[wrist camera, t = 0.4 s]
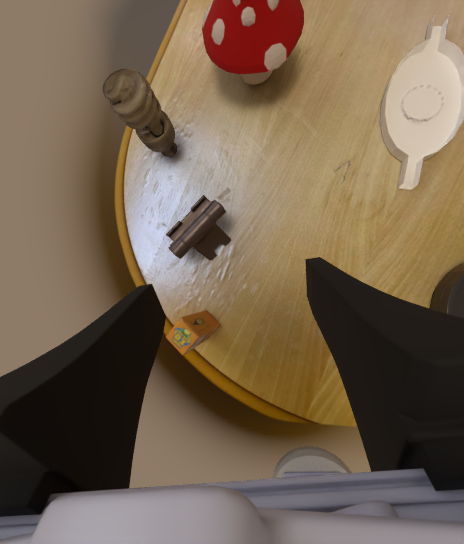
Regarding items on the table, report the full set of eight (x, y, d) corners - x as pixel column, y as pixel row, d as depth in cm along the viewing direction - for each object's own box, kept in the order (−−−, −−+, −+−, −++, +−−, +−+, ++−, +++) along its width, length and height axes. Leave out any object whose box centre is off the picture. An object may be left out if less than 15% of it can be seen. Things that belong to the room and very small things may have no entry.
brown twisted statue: (194, 145, 42) (148, 64, 27) (178, 174, 42) (124, 108, 27) (167, 133, 43) (110, 49, 28) (152, 161, 43) (87, 92, 28)
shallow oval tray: (475, 26, 35) (485, 12, 34) (445, 194, 34) (454, 188, 32) (396, 26, 37) (402, 13, 36) (365, 184, 36) (370, 178, 34)
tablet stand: (207, 198, 40) (189, 173, 32) (241, 230, 39) (231, 212, 31) (171, 237, 41) (144, 222, 33) (202, 270, 39) (182, 263, 31)
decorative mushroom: (314, 90, 39) (335, -35, 24) (233, 129, 41) (208, 36, 26) (280, 21, 41) (281, -131, 26) (205, 62, 43) (167, -59, 28)
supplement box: (192, 325, 39) (162, 336, 29) (206, 309, 39) (182, 314, 29) (206, 341, 38) (181, 356, 28) (221, 324, 38) (201, 335, 28)
